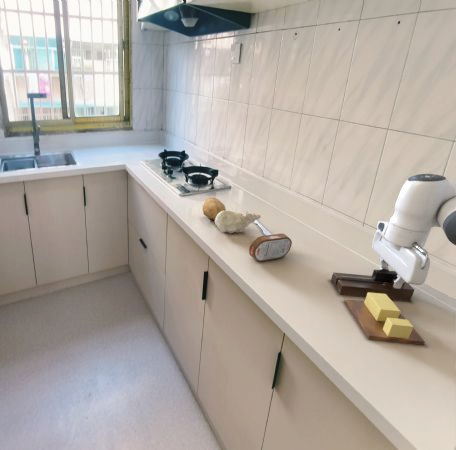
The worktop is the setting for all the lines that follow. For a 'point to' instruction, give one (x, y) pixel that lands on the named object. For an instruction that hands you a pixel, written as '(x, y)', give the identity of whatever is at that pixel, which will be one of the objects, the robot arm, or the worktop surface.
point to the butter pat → (398, 328)
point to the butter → (381, 306)
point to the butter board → (377, 324)
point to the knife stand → (370, 287)
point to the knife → (375, 277)
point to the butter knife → (262, 227)
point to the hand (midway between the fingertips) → (389, 279)
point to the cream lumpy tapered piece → (234, 221)
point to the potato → (212, 207)
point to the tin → (270, 247)
